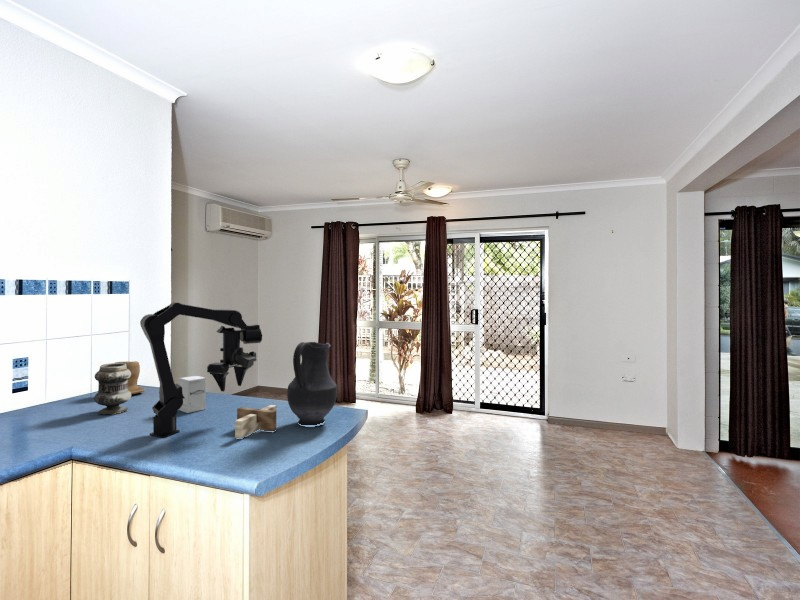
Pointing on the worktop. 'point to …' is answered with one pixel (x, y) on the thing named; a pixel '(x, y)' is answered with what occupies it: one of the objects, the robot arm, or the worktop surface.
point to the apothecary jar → (112, 387)
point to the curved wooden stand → (133, 377)
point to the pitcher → (311, 384)
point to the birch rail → (249, 423)
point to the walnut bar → (260, 417)
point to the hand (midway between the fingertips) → (231, 388)
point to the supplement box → (193, 393)
